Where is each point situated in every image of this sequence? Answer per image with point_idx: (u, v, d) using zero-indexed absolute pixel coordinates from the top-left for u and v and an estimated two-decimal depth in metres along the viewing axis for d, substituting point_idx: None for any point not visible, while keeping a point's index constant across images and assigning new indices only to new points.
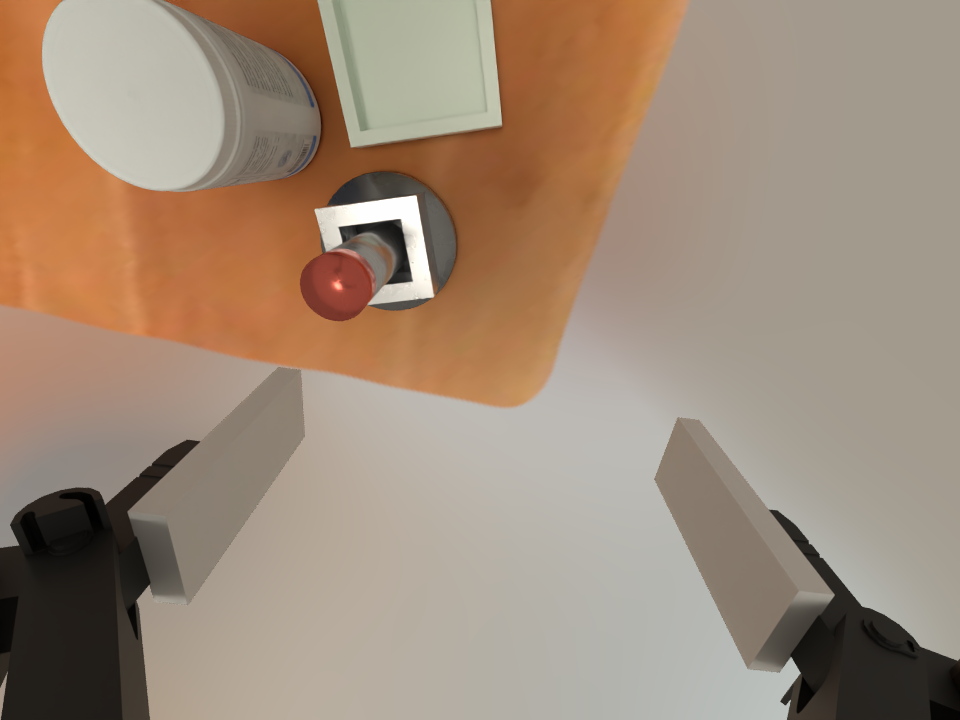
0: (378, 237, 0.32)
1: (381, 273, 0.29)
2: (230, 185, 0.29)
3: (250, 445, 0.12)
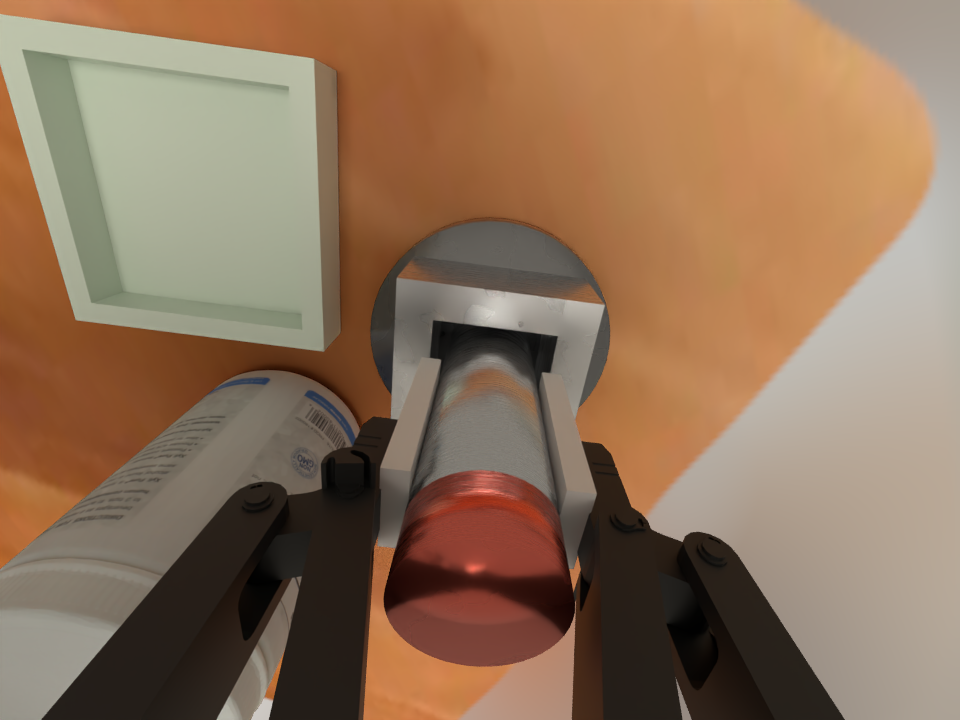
0: (445, 381, 0.15)
1: (500, 434, 0.11)
2: None
3: (427, 421, 0.14)
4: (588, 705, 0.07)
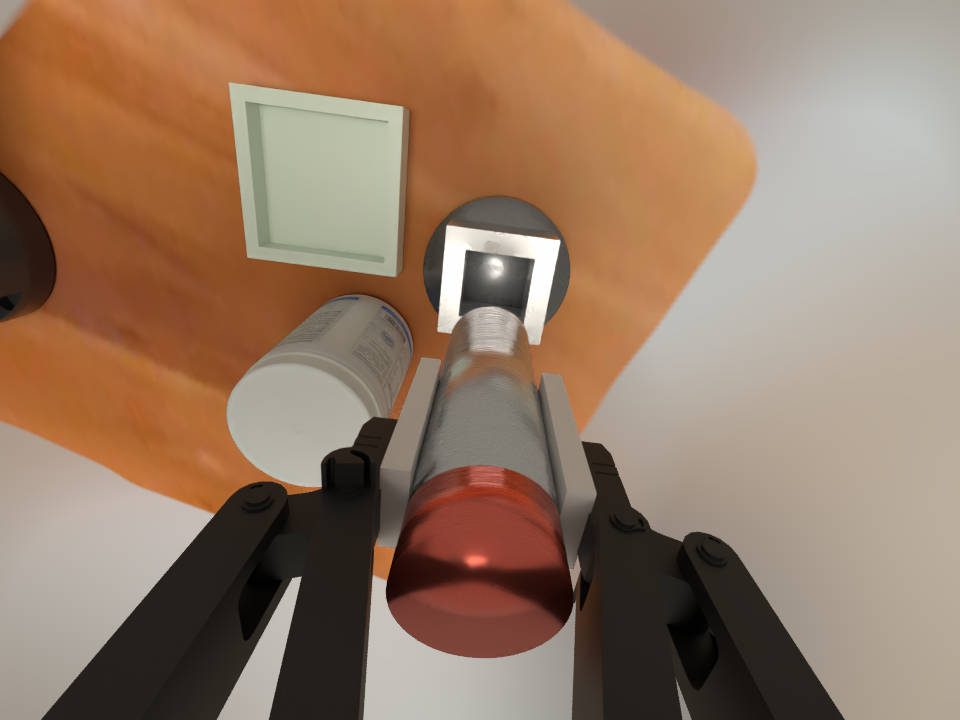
0: (445, 379, 0.15)
1: (500, 430, 0.12)
2: (393, 393, 0.31)
3: (427, 421, 0.14)
4: (588, 705, 0.07)
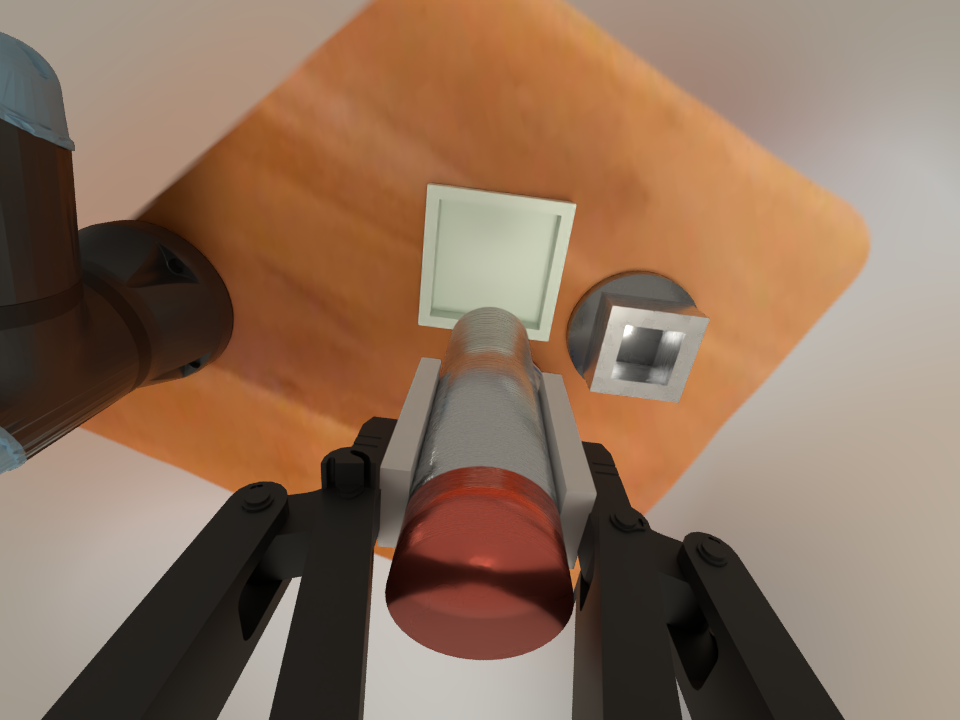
0: (445, 379, 0.15)
1: (500, 431, 0.11)
2: None
3: (427, 421, 0.14)
4: (588, 705, 0.07)
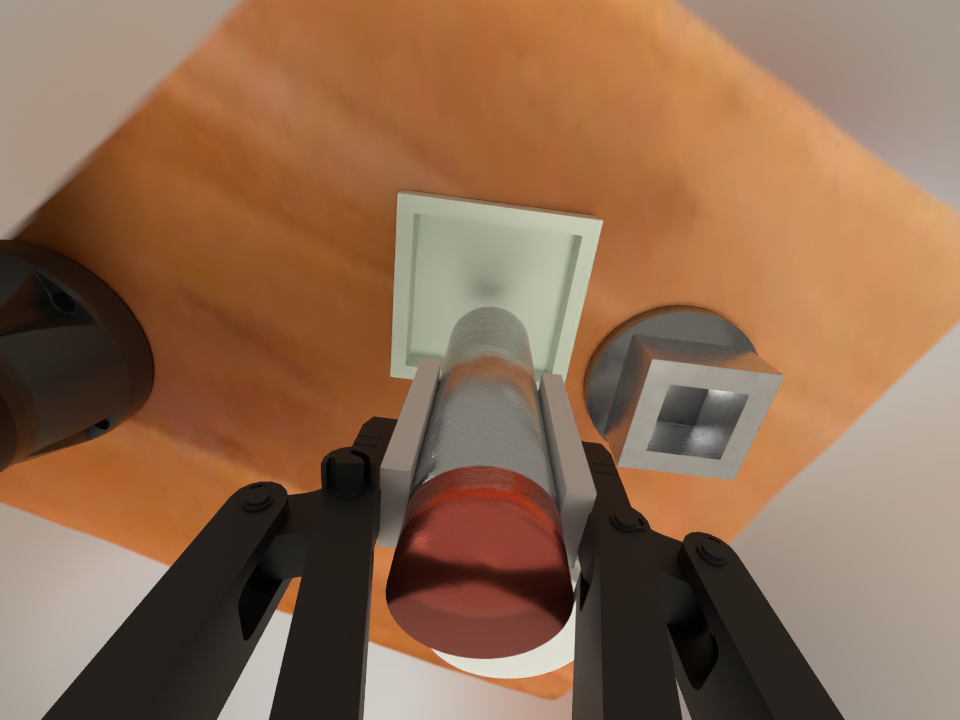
0: (445, 379, 0.15)
1: (500, 430, 0.12)
2: None
3: (427, 421, 0.14)
4: (588, 705, 0.07)
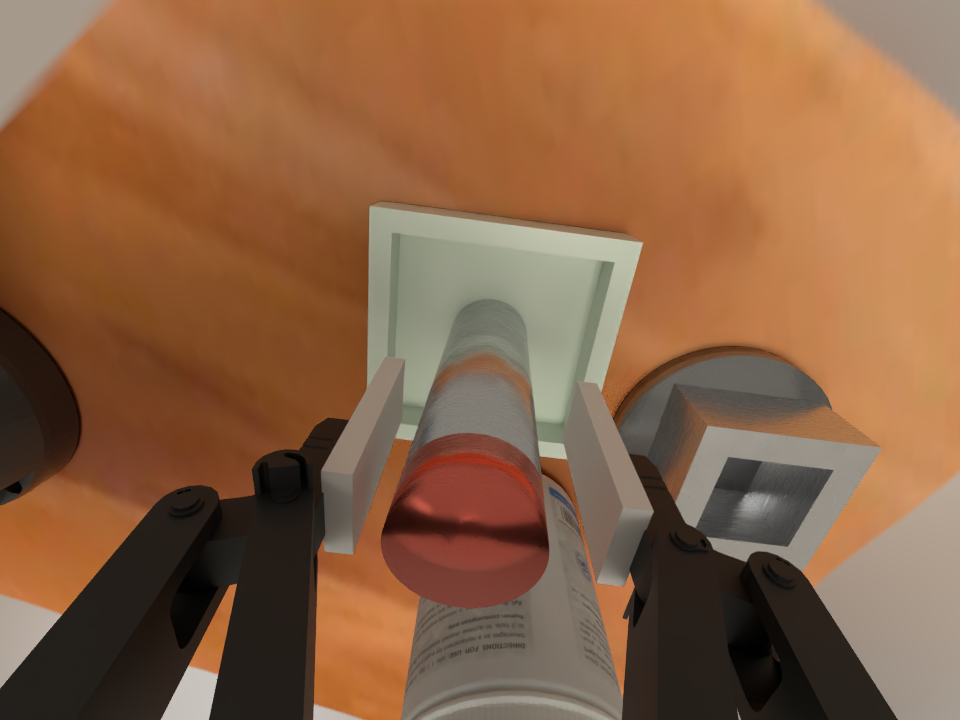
0: (443, 363, 0.17)
1: (489, 404, 0.13)
2: None
3: (382, 422, 0.13)
4: None
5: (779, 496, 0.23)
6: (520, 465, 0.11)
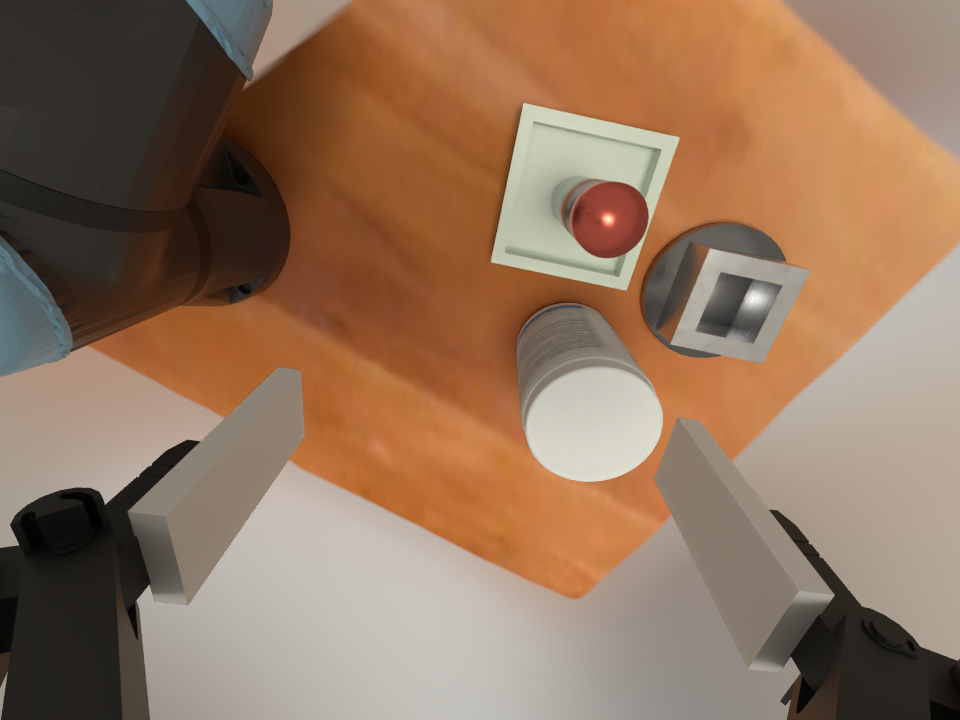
0: (569, 186, 0.30)
1: None
2: None
3: (250, 445, 0.12)
4: None
5: (750, 317, 0.36)
6: None
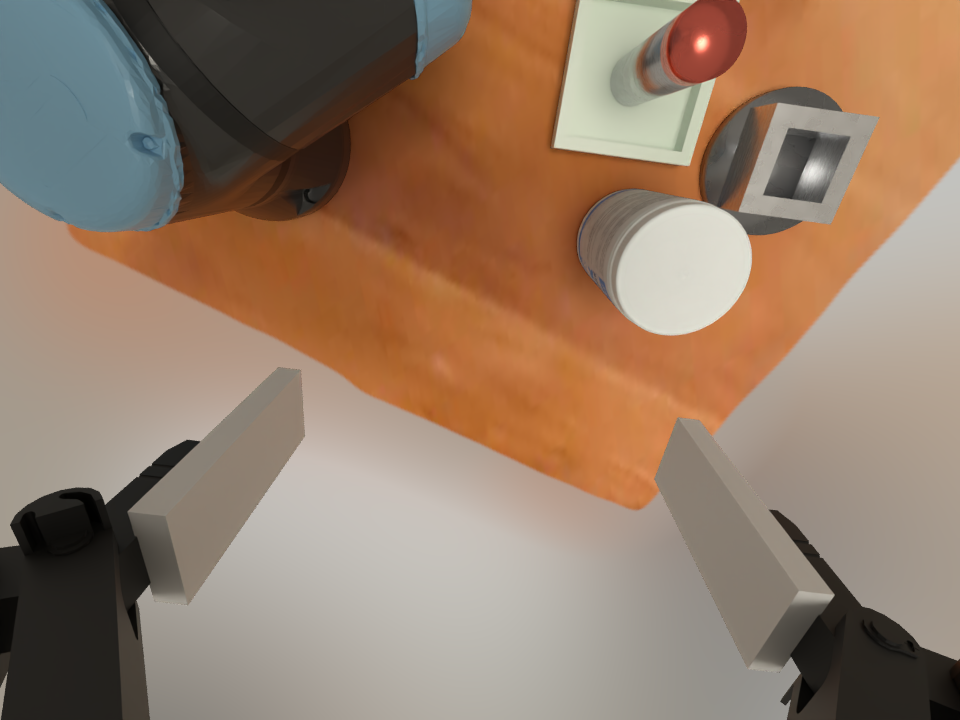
0: (643, 42, 0.30)
1: None
2: None
3: (250, 444, 0.12)
4: None
5: (815, 181, 0.37)
6: None
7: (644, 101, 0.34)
